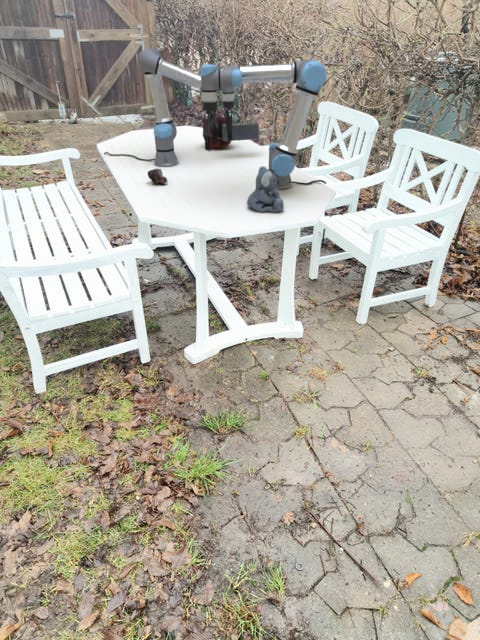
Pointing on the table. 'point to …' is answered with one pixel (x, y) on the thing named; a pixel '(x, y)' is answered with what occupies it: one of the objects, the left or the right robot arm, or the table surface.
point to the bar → (241, 131)
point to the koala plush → (265, 193)
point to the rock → (157, 176)
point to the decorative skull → (220, 136)
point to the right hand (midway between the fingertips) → (211, 146)
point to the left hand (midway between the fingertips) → (229, 139)
